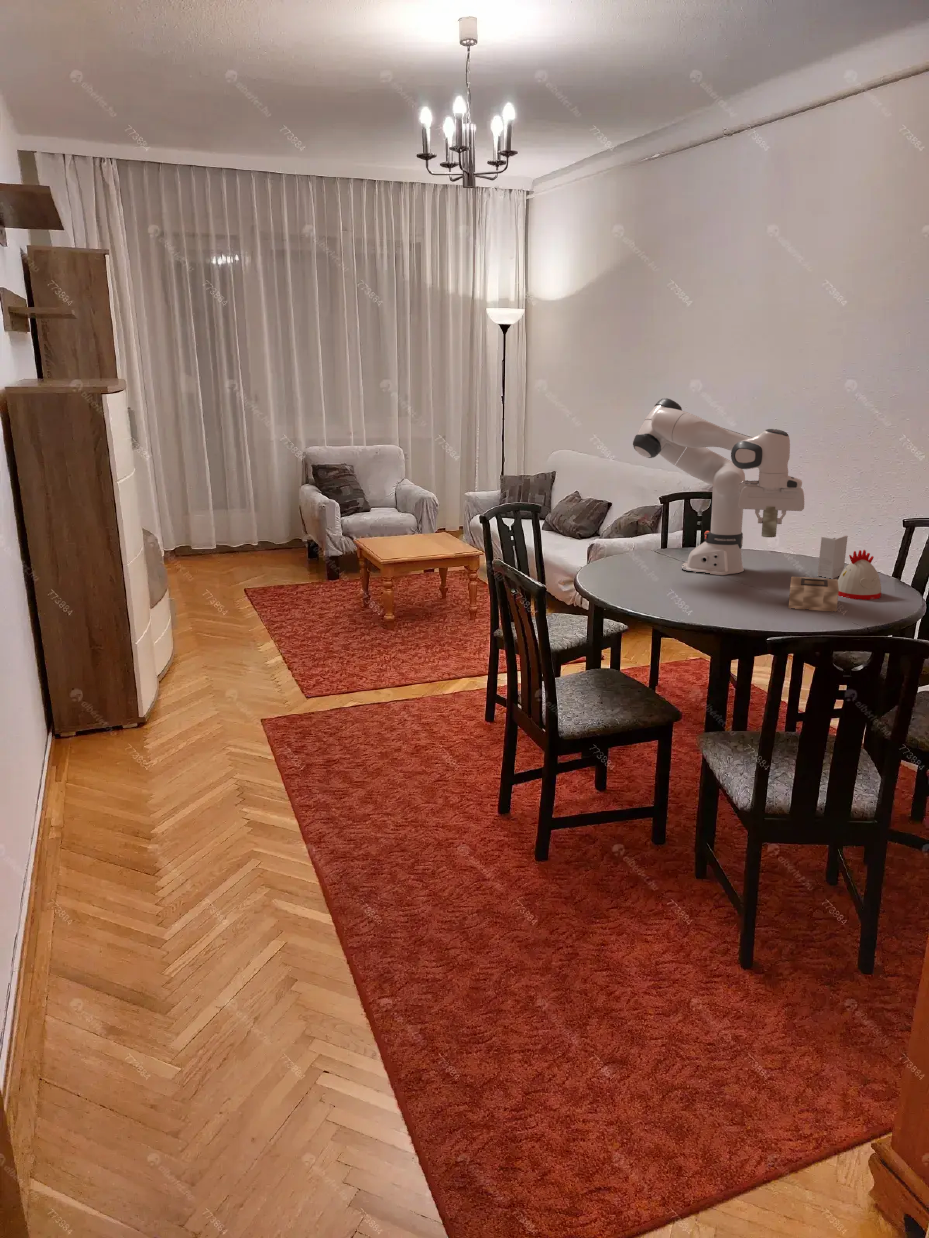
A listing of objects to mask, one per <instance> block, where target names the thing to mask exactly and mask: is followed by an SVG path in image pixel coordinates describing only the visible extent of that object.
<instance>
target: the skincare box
mask: <svg viewBox="0 0 929 1238" xmlns="http://www.w3.org/2000/svg"><path fill="white" fill-rule="evenodd" d="M847 544H848V535H846V534H842V533H841V534H839V533H835V532H832V533H829V534H827V535H823V536H821V538H820V548H819V557H818V567H817V575H818V576H817V577H819V576H822V577H821V578H824V577H826V578H825V579H829V578H833V579H837V578H839V577H840V575H841V573H842V571H843V570H844V569H845V563H846V553H847V546H848V545H847ZM838 576H839V577H838Z"/></svg>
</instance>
